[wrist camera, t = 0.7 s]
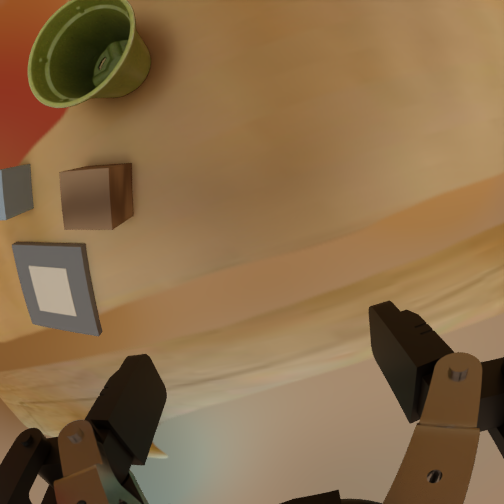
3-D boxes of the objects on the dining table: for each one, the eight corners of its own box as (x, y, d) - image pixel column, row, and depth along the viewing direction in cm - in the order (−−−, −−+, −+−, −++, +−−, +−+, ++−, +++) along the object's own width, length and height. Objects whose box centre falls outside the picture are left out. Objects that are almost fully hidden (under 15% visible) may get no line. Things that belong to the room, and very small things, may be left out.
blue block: (3, 168, 24) (-25, 175, 20) (30, 163, 24) (1, 170, 20) (7, 209, 26) (-20, 221, 21) (33, 208, 26) (6, 220, 21)
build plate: (16, 241, 27) (11, 244, 26) (85, 243, 28) (80, 247, 27) (36, 320, 31) (32, 324, 30) (102, 331, 31) (98, 336, 30)
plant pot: (68, 104, 23) (12, 99, 14) (102, 21, 20) (58, -9, 11) (145, 124, 24) (101, 119, 16) (184, 33, 21) (158, -7, 13)
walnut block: (87, 166, 25) (59, 172, 20) (131, 163, 25) (108, 167, 20) (90, 215, 27) (64, 229, 22) (133, 215, 27) (112, 229, 22)
